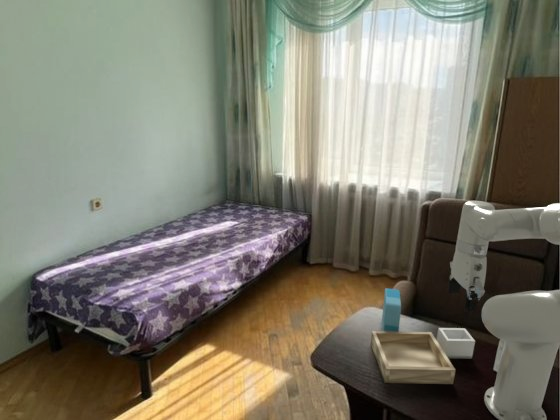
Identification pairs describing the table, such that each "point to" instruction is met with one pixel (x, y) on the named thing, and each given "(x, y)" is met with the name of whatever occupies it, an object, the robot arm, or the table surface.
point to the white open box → (456, 342)
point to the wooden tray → (411, 358)
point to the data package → (391, 310)
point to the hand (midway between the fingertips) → (461, 301)
